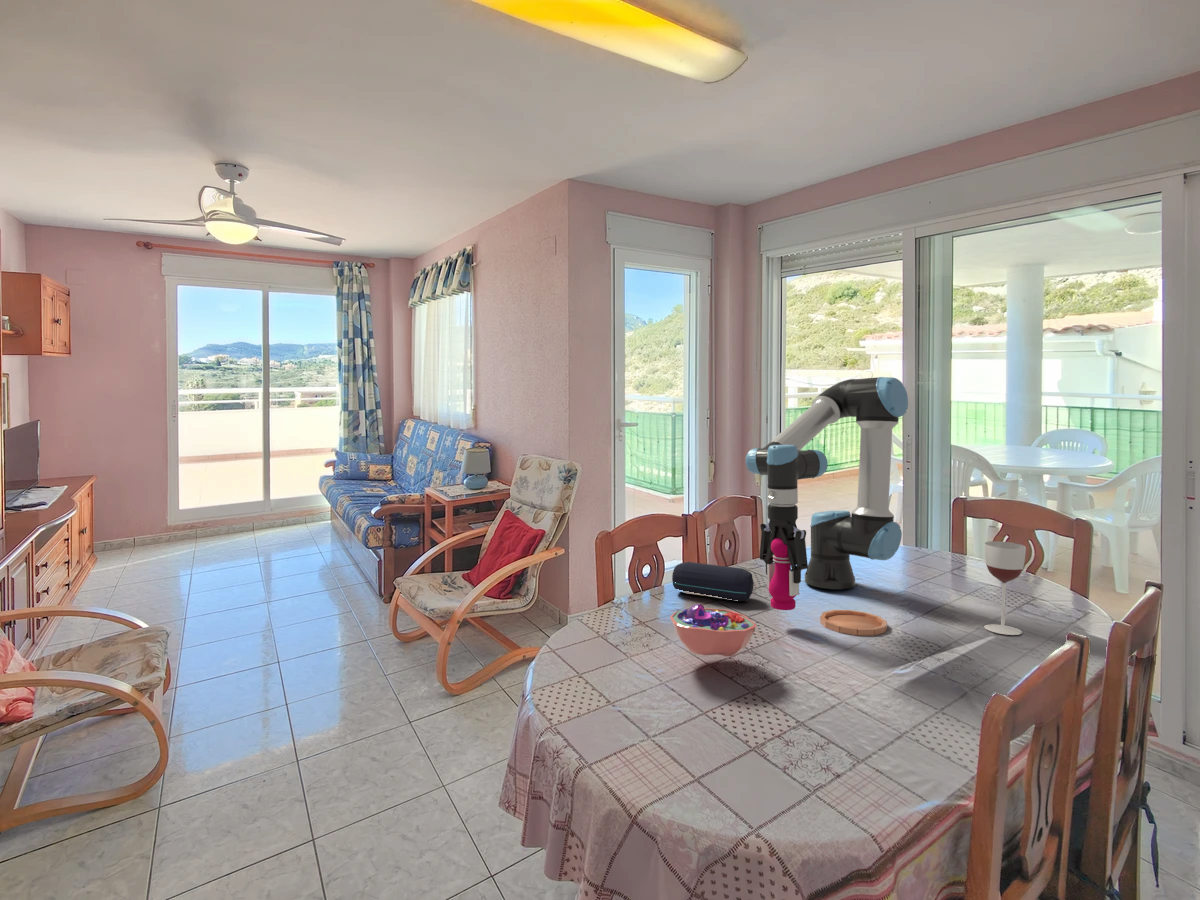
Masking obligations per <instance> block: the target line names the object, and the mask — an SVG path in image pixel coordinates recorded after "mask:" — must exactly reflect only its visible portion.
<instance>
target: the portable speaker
mask: <svg viewBox="0 0 1200 900" xmlns="http://www.w3.org/2000/svg"><path fill="white" fill-rule="evenodd" d="M671 577H672V578H671V580H672V586H673V587H674V589H675V590H676V589H679V590H683V591H689V592H694V593H700V594H706V595H712V596H718V597H722V598H727V599H732V600H738V601H745V602H748V601H749V600H748V599H750V598H751V595H752V594H753V591H754V586H755V585H754V578H753V574H752V572H750V571H748V569H744V568H740V567H732V566H727V565H726V566H724V565H716V564H709V563H700V562H693V561H691V562H690V561H686V562H681V563H677V565H675V566H674V569H673V571H672V575H671ZM675 582H676V583H675ZM747 600H748V601H747Z"/></svg>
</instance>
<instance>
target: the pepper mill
mask: <svg viewBox="0 0 1200 900" xmlns="http://www.w3.org/2000/svg"><path fill="white" fill-rule="evenodd" d="M788 541H791V540H788ZM771 550H772V552H773V553H774V555H773V561H774V562H773V563H775V572H774V575H773V577H772V579H771V581H770V584H769V589H768V593H769V595H770V596H771V597H772V598H770V607H771V608H773V609H775V610H778V611H792V610H795V608H796V600H795V599H794V598H795V597H796V596H797V595H795V596H789V570H790V569H792V568H791V564H790V560H789V557H788V553H787V545H785V544H784V543H783V540H782V539H781V538H775V539H774V540H773V541H772V543H771Z"/></svg>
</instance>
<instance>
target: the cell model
mask: <svg viewBox="0 0 1200 900" xmlns="http://www.w3.org/2000/svg"><path fill="white" fill-rule="evenodd" d="M669 618H670V621H671V623H672V625H673V628H674V632H675V634H676V636H677V638H678V640H679V641H680V642H681V643H682V644H683V646H684V647H685V648H686V649H687V650H688V651H690V652H691V653H692V654H694V655H697V656H698V655H700V656H715V655H717V656H718V655H719V656H722V657H728V658H729V657H733V656H735V655H737V654H739V652H741V651H742V650H744V649H745V648H746V647H747V646H748V644H749V643H750V641H751V639H752V637H753V635H754V632H755V630H756V627H757V624H756V623H755V622H754V621H753V620H751V618H749V617H748V616H746V615H744V614H743V613H739V612H736V611H733V610H730V609H727V608H726V609H725V608H709V607H708V608H705V606H704V605H703V604H702V603H695V604H694V605H691V606H690V607H689V608H683V609H679V610H676V611H675V612H673V613H672V614H671V615H670V617H669Z"/></svg>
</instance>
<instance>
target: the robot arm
mask: <svg viewBox="0 0 1200 900" xmlns="http://www.w3.org/2000/svg"><path fill="white" fill-rule="evenodd" d="M908 407H909V396H908V392H907V390H906V387H905V386H904V384H903V383H902V381H901V380H899V378H896V377H893V376H891V377H888V376H887V377H886V376H885V377H884V376H879V377H867V378H866V377H865V378H851V379H846V380H843V381H840V382H838V383H836V384H833V385H832V386H830V387H828V388H827V389H825V390H824V391H822V392H821V393H820V394H818V395H817V396H816V397H815V398H813V400H812V402H811V405H810V407H808V409H806V410H805V411H804V412H803V413H802V414H800V415H799V416H798V417H797V418H796V419H795V420H794V421H792V423H790V424H789V425H787V427H786V428H784V429H783V430H782V431H781V432H780V433H779V434H778V435H776V436H775V437H774V438H773V439H772V440H771V441H769V442H768V443H767V444H766V445H765V446H764V447H762V448H761V447H756V448H751V449H750V450H749V451H748V452H747V454H746V455H745V465H746V468H747V470H748V471H749V472H750V473H751V474H755V475H759V476H767V502H768V505H767V519H768V520H769V521H768V522H767V523H766V522H764V523H761V524H760V531H761V532H760V544H759V546H760V550H759V559H760V560H761V561H764V563H765V575H766V576H767V578H766V579H767V581H766V584H767V585H766V588H767V589H768V590H769V584H770V581H771V579H772V577H773V575H774V572H775V562H774V561H773V555H774V553H773V552H772V550H771V543H772V541H773V540H774V539H775V538H781V539H782V540H783V543H784V544H785V545H787V553H788V557H789V560H790V564H791V569H790V570H789V596H795V595H796V596H798V595H800V583H801V582H802V579H801V578H802V571H803V570H806V571H805V573H804V583H805V584H807V585H809V586H811V587H816V588H820V589H828V590H829V589H830V590H846V589H847V590H848V589H851V588H852V589H853V588H854V587H855V586H856V577H855V575H854V571H853V568H852V567H853V566H852V563H851V561H850V558H851V557H850V556H855V557H861V558H866V559H870V560H872V561H873V560H877V561H878V560H879V561H889V560H890V559H892V558H893V557H894V556H895V555H896V553H897V552H898V550H899V548H900V544H901V541H902V529H901V525H900V524H899V523H897V522H895V521H894V516H895V515H894V514H893V513H892V512H891V511H890V509H889V506H890V481H891V464H892V463H891V462H892V461H891V460H892V444H893V443H892V442H893V429H894V428H895V427H896V426H897V425H898V424H899V418H901V417H903V416H904V415H905V414H906V413H907V409H908ZM849 417H850V418H851V417H852V418H855V423H856V424H857V425H858V426H859V427H860V441H859V442H860V443H859V444H860V445H859V463H858V465H859V466H858V481H857V482H858V483H857V484H858V487H857V501H856V502H857V505H856V507H855V508H854V509H853V510H852V511H851V512H850V511H849V510H826V511H819V512H817V511H816V512H814V513H813V514H812V516H811V518H810V521H811V522H810V527H809V528H810V559H809V562H808V553H807V545H806V544H807V543H806V537H807V530H805V529H802V530H801V529H799V528H798V526H797V523H796V522H797V520H798V518H799V517H798V516H799V515H798V514H799V513H798V512H799V511H798V510H799V509H798V506H797V504H798V503H799V501H798V499H799V498H798V497H799V496H798V495H799V494H798V490H799V489H798V482H799V481H798V480H803V479H804V480H805V479H815V478H818V477H822V475H825V473H826V471H827V469H828V465H829V464H828V462H829V461H828V459H827V458H828V457H827V456H826V455H825V453H824V452H823V451H821V450H819V449H807V450H806V449H805V450H802V449H803V448H804V447H806V446H807V444H808V443H810V442H811V441H812V440H813V439H814V438H815V437H816V436H818V435H819V434H820V433H821V431H823V430H824V429H825V428H826V427H827V426H828V425H831V424H832V425H833V424H835V423H836V422H837V421H839V420H841V419H843V418H849ZM788 540H791V541H788ZM796 596H795V597H796Z"/></svg>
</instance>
